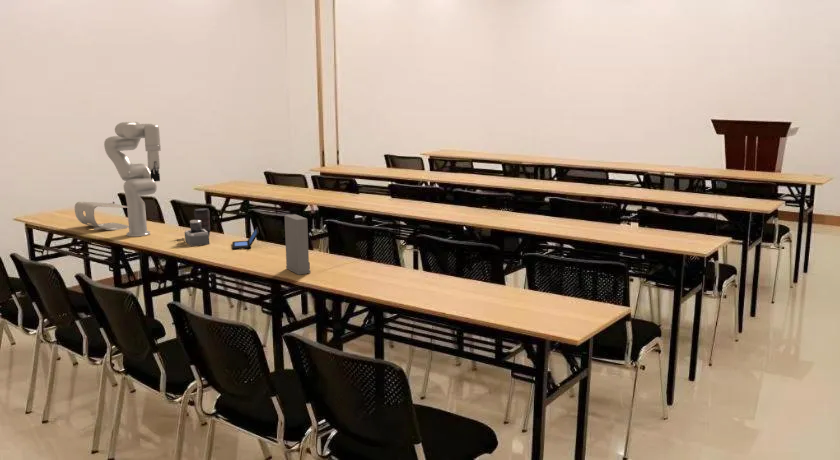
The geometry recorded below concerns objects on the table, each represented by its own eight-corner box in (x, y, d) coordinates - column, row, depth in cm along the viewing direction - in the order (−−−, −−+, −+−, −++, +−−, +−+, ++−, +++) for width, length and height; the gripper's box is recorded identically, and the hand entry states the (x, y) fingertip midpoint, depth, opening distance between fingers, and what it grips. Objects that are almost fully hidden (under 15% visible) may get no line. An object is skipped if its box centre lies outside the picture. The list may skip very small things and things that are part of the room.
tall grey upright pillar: (311, 273, 322) (309, 218, 317) (298, 275, 318) (296, 219, 313) (298, 267, 333) (296, 214, 328) (286, 268, 330) (284, 215, 325)
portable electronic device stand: (75, 227, 428) (73, 202, 425) (113, 222, 446) (111, 197, 443) (96, 233, 412) (93, 206, 409) (134, 227, 430) (132, 201, 427)
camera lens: (213, 234, 409) (211, 208, 406) (207, 237, 401) (205, 210, 398) (199, 233, 409) (197, 207, 406) (193, 236, 401) (191, 210, 398)
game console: (232, 244, 383) (231, 227, 382) (258, 242, 387) (257, 226, 385) (232, 250, 369) (231, 233, 367) (259, 248, 372) (258, 231, 370)
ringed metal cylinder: (189, 233, 386) (188, 220, 385) (200, 232, 389) (200, 219, 388) (191, 234, 381) (191, 222, 380) (203, 233, 384) (202, 221, 383)
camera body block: (185, 241, 390) (184, 229, 389) (203, 239, 395) (203, 228, 393) (190, 246, 378) (189, 234, 377) (209, 244, 382) (208, 232, 381)
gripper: (143, 147, 386) (145, 178, 390) (147, 149, 371) (150, 182, 375) (157, 146, 390) (160, 178, 393) (163, 149, 375) (165, 181, 378)
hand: (155, 180), depth 384 cm, fingers open, 9 cm apart
